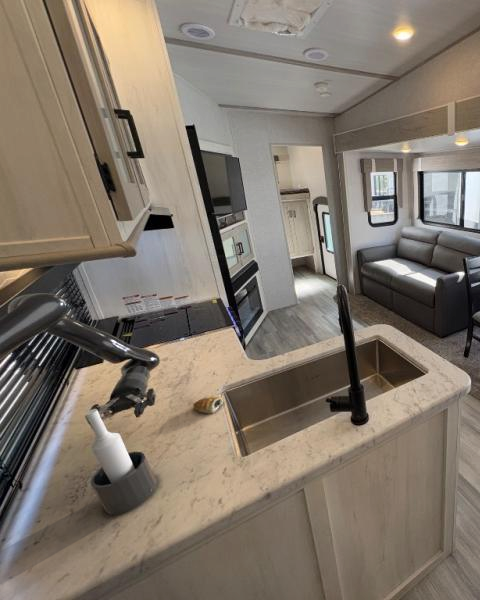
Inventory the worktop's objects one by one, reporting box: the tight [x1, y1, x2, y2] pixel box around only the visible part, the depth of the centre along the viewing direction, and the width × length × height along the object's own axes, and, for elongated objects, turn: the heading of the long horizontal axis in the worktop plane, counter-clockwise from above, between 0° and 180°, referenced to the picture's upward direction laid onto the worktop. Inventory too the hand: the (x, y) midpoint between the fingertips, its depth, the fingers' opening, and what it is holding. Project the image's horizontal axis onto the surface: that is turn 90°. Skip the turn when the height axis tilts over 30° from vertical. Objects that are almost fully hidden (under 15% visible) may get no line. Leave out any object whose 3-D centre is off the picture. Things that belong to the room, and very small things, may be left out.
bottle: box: [84, 409, 135, 484], centre depth 74 cm, size 5×5×25 cm
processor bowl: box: [90, 451, 158, 516], centre depth 77 cm, size 10×10×9 cm
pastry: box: [192, 395, 224, 414], centre depth 109 cm, size 9×7×4 cm
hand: (116, 420), depth 80 cm, fingers open, 8 cm apart
